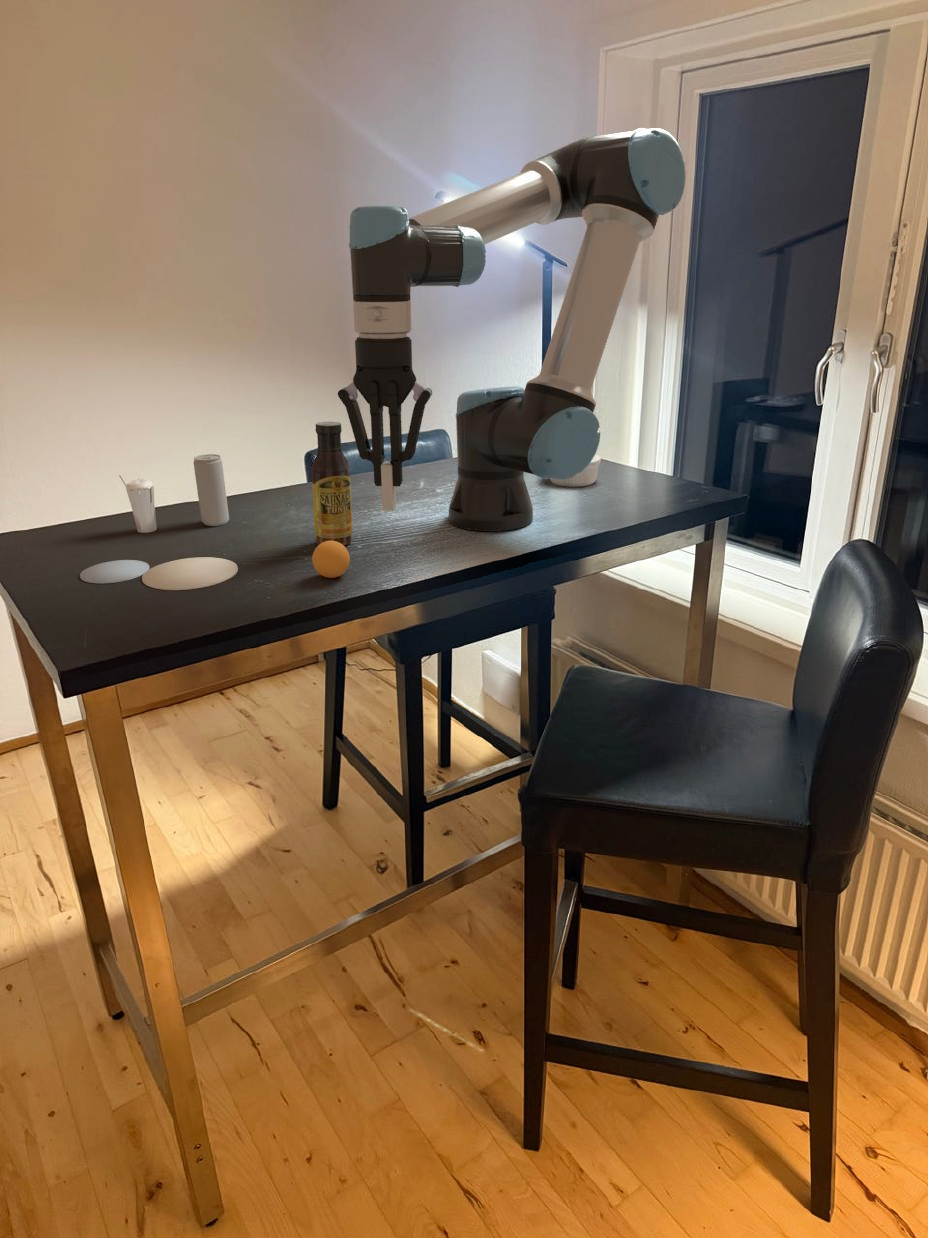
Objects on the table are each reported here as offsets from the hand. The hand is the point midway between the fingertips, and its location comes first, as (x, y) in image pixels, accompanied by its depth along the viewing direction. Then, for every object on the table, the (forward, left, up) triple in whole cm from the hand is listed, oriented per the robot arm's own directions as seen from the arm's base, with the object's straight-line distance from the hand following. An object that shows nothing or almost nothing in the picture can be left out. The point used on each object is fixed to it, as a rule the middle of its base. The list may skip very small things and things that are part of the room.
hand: (389, 507), depth 122 cm
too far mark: (+43, +7, -11) cm, 45 cm away
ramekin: (-17, -64, -11) cm, 67 cm away
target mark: (+31, +5, -11) cm, 33 cm away
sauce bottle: (+15, -14, -11) cm, 23 cm away
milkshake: (+51, -13, -11) cm, 54 cm away
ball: (+9, +1, -8) cm, 12 cm away
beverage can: (+41, -20, -11) cm, 47 cm away
